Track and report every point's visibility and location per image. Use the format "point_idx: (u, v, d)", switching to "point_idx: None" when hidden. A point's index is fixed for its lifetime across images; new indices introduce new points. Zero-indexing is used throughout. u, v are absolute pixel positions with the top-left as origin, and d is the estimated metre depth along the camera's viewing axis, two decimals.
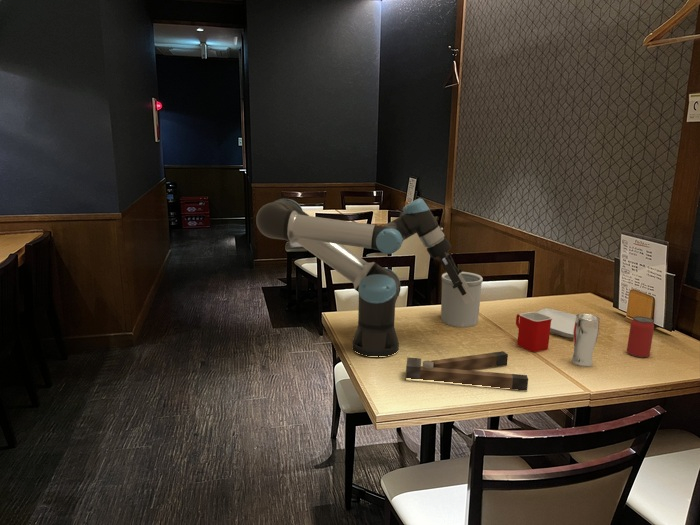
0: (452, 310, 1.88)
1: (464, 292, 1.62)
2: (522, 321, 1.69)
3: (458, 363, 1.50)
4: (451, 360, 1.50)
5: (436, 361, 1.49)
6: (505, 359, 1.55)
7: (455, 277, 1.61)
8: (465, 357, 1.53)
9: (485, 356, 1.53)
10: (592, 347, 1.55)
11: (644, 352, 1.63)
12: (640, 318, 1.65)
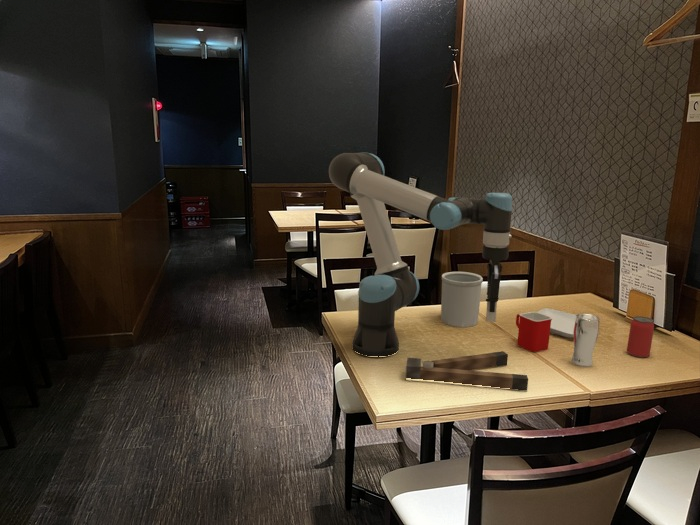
0: (452, 310, 1.88)
1: (493, 310, 1.55)
2: (522, 321, 1.69)
3: (458, 363, 1.50)
4: (451, 360, 1.50)
5: (436, 361, 1.49)
6: (505, 359, 1.55)
7: (495, 294, 1.52)
8: (465, 357, 1.53)
9: (485, 356, 1.53)
10: (592, 347, 1.55)
11: (644, 352, 1.63)
12: (640, 318, 1.65)
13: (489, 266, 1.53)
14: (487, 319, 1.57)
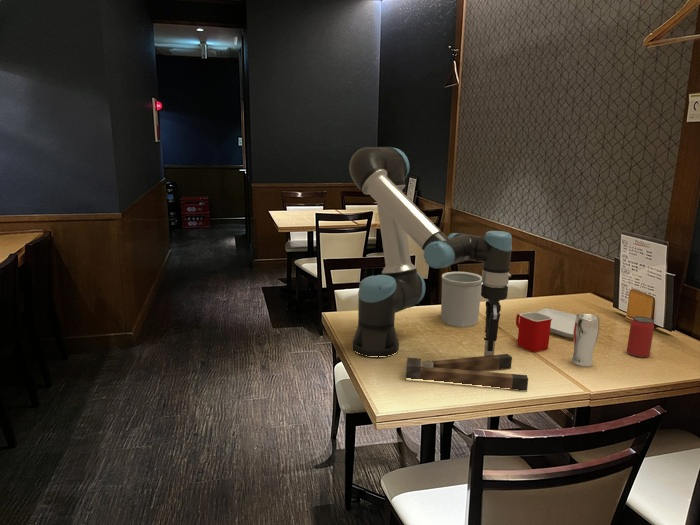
0: (452, 310, 1.88)
1: (491, 349, 1.53)
2: (522, 321, 1.69)
3: (459, 364, 1.49)
4: (452, 361, 1.49)
5: (437, 361, 1.49)
6: (509, 362, 1.53)
7: (494, 334, 1.49)
8: (468, 358, 1.52)
9: (488, 358, 1.52)
10: (592, 347, 1.55)
11: (644, 352, 1.63)
12: (640, 318, 1.65)
13: (488, 305, 1.50)
14: None
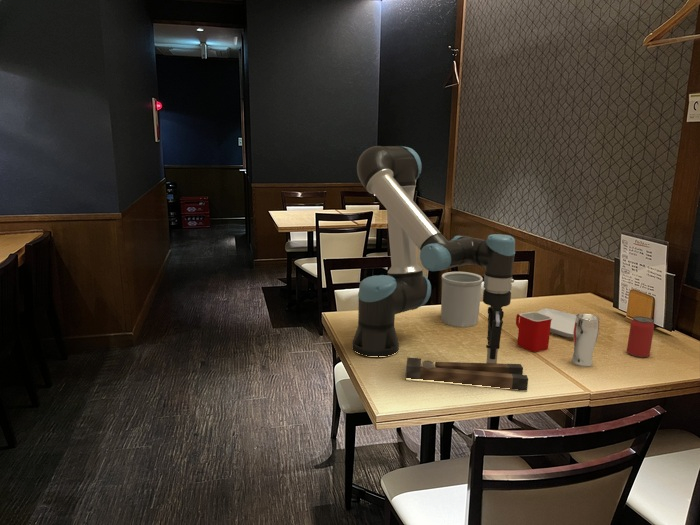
0: (452, 310, 1.88)
1: (494, 357, 1.47)
2: (522, 321, 1.69)
3: (463, 369, 1.46)
4: (456, 364, 1.47)
5: (440, 363, 1.48)
6: (520, 372, 1.46)
7: (496, 342, 1.44)
8: (474, 363, 1.48)
9: (496, 366, 1.47)
10: (592, 347, 1.55)
11: (644, 352, 1.63)
12: (640, 318, 1.65)
13: (490, 312, 1.44)
14: None
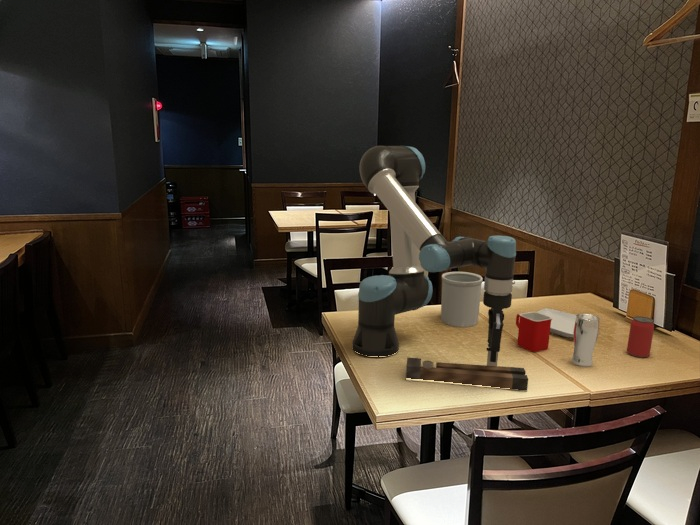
0: (452, 310, 1.88)
1: (494, 360, 1.45)
2: (522, 321, 1.69)
3: None
4: (457, 365, 1.46)
5: (440, 363, 1.48)
6: None
7: (497, 344, 1.42)
8: (476, 365, 1.47)
9: (498, 369, 1.45)
10: (592, 347, 1.55)
11: (644, 352, 1.63)
12: (640, 318, 1.65)
13: (490, 314, 1.43)
14: None
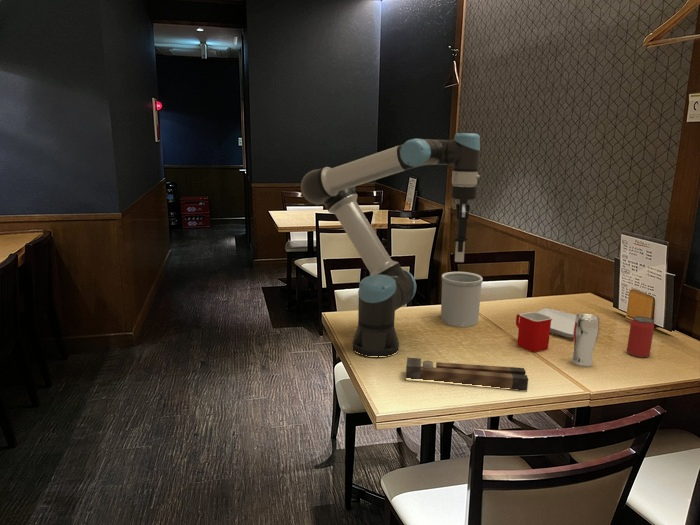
0: (452, 310, 1.88)
1: (461, 250, 1.58)
2: (522, 321, 1.69)
3: None
4: (457, 365, 1.46)
5: (440, 363, 1.48)
6: None
7: (463, 233, 1.55)
8: (476, 365, 1.47)
9: (498, 369, 1.45)
10: (592, 347, 1.55)
11: (644, 352, 1.63)
12: (640, 318, 1.65)
13: (457, 206, 1.56)
14: (455, 259, 1.60)
